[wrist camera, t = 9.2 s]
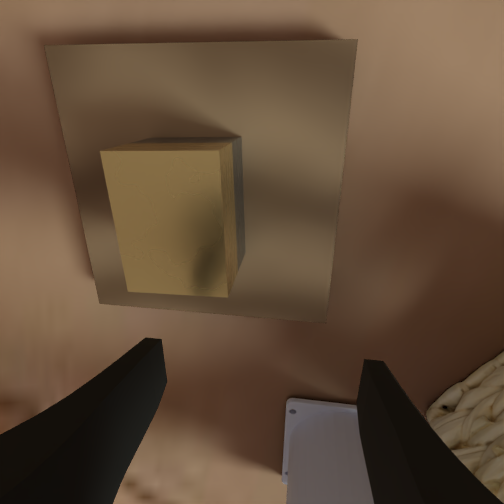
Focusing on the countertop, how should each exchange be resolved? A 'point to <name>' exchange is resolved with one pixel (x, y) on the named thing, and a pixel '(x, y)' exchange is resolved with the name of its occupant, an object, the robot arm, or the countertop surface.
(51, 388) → the countertop surface
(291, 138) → the walnut stand
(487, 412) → the storage basket
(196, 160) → the block
